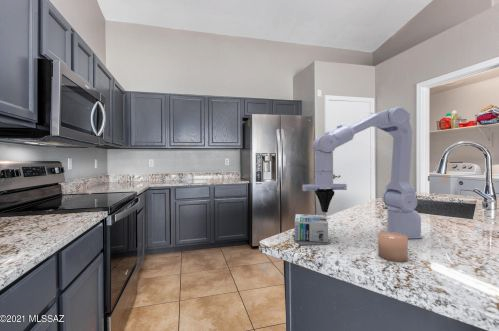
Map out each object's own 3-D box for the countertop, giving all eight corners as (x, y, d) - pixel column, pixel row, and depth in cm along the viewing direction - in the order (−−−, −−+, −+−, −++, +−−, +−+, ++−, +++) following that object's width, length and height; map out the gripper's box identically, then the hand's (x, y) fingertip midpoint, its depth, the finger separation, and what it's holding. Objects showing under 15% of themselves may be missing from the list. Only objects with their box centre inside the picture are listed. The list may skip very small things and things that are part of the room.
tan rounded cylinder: (396, 251, 70) (396, 231, 70) (414, 261, 63) (414, 238, 63) (373, 252, 70) (372, 231, 70) (388, 262, 63) (388, 239, 63)
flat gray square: (319, 234, 87) (319, 233, 87) (330, 244, 77) (330, 243, 77) (292, 235, 86) (292, 234, 86) (299, 245, 76) (299, 244, 76)
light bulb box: (328, 222, 77) (294, 220, 79) (328, 243, 77) (294, 240, 80) (325, 214, 88) (295, 213, 90) (325, 233, 88) (294, 231, 90)
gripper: (340, 170, 86) (340, 208, 86) (299, 171, 85) (300, 209, 85) (349, 171, 79) (349, 212, 79) (305, 172, 78) (306, 214, 78)
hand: (324, 211), depth 82 cm, fingers closed
